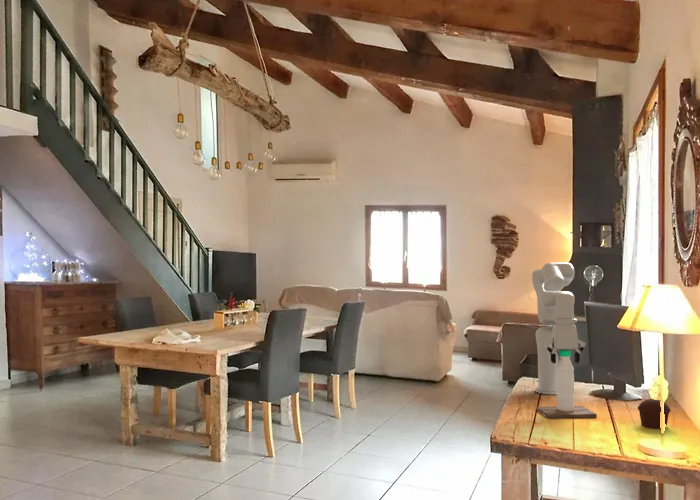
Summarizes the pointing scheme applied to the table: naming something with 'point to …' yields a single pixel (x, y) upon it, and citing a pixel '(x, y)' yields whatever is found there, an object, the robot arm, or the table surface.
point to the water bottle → (565, 382)
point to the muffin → (652, 413)
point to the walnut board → (577, 413)
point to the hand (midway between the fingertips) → (565, 362)
